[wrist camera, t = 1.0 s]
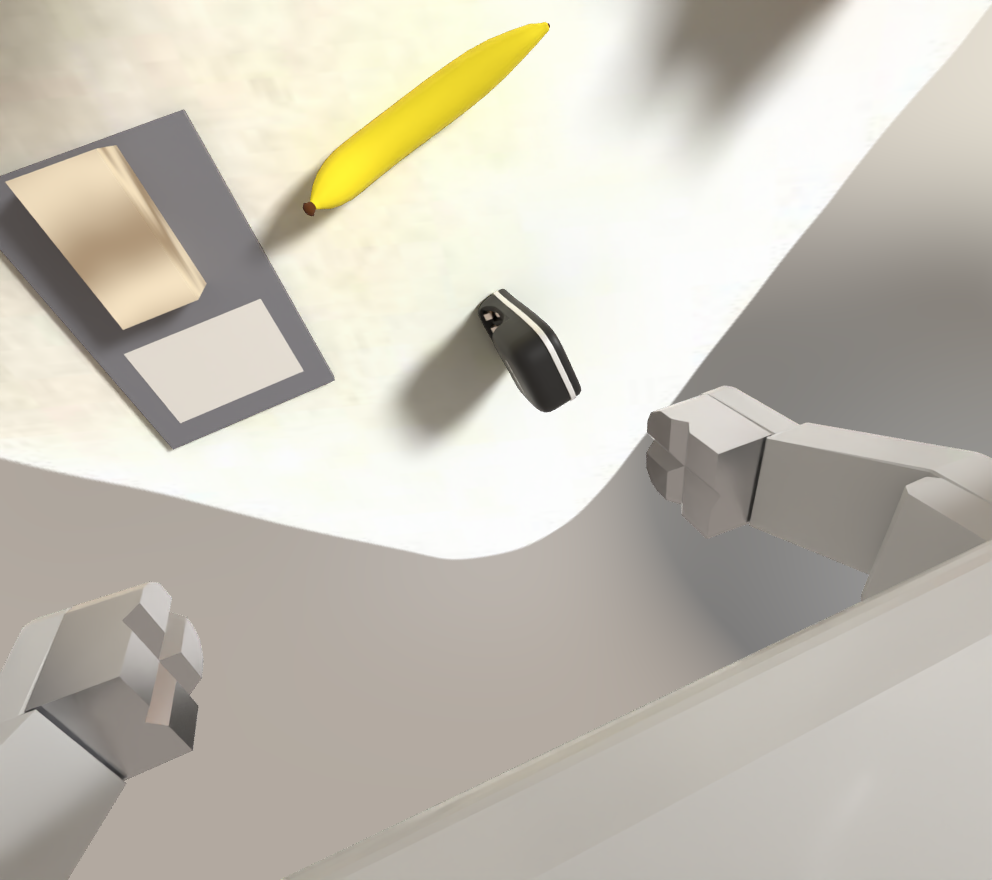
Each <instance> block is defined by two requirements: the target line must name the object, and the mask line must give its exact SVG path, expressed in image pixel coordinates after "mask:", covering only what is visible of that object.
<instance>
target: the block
mask: <svg viewBox="0 0 992 880" xmlns="http://www.w3.org/2000/svg"><path fill="white" fill-rule="evenodd" d="M5 183H6V184H7V185H8V186H9V188H10V189H11V190H12V191H13V193H14V194H15V195H16V196H17V198H18V199H19V200H20V201H21V203H22V204H23V205H24V206H25V208H26V209H27V210H28V211H29V213H30V214H31V215H32V216H33V218H34V219H35V220H36V221H37V223H38V224H39V225H40V226H41V228H42V229H43V230H44V231H45V233H46V234H47V235H48V236H49V238H50V239H51V240H52V241H53V243H54V244H55V245H56V246H57V248H58V249H59V250H60V251H61V253H62V254H63V255H64V256H65V258H66V259H67V260H68V261H69V263H70V264H71V265H72V266H73V268H74V269H75V270H76V271H77V273H78V274H79V275H80V276H81V278H82V279H83V280H84V282H85V283H86V284H87V285H88V287H89V288H90V289H91V290H92V292H93V293H94V294H95V295H96V297H97V298H98V299H99V300H100V302H101V303H102V304H103V305H104V307H105V308H106V309H107V310H108V312H109V313H110V314H111V315H112V317H113V318H114V319H115V320H116V322H117V323H118V324H119V325H120V327H121V328H122V329H123V330H124V329H127V328H129V327H132V326H134V325H137V324H139V323H142V322H144V321H147V320H149V319H152V318H154V317H157V316H159V315H162V314H164V313H167V312H169V311H171V310H174V309H176V308H179V307H181V306H184V305H186V304H189V303H191V302H194V301H196V300H198V299H199V297H200V296H201V294H202V292H203V290H204V288H205V286H206V284H207V283H206V282H205V280H204V279H203V277H202V276H201V274H200V273H199V271H198V270H197V268H196V266H195V265H194V263H193V262H192V260H191V259H190V257H189V256H188V254H187V253H186V251H185V250H184V248H183V247H182V245H181V243H180V242H179V240H178V239H177V237H176V236H175V234H174V233H173V231H172V230H171V228H170V227H169V225H168V224H167V222H166V220H165V219H164V217H163V216H162V214H161V213H160V211H159V210H158V208H157V207H156V205H155V204H154V202H153V201H152V199H151V197H150V196H149V194H148V193H147V191H146V190H145V188H144V187H143V185H142V184H141V182H140V181H139V179H138V178H137V176H136V174H135V173H134V171H133V170H132V168H131V167H130V165H129V164H128V162H127V161H126V159H125V158H124V156H123V155H122V153H121V151H120V150H119V148H118V147H117V145H114V146H108V147H103V148H97V149H94V150H91V151H88V152H85V153H83V154H80V155H77V156H75V157H72V158H69V159H66V160H64V161H61V162H58V163H55V164H53V165H50V166H47V167H44V168H42V169H39V170H36V171H33V172H31V173H28V174H25V175H22V176H20V177H17V178H14V179H12V180H9V181H6V182H5Z"/></svg>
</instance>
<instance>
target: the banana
mask: <svg viewBox="0 0 992 880" xmlns="http://www.w3.org/2000/svg"><path fill="white" fill-rule="evenodd" d="M549 28H550V25H549V24H548V23H546V22H543V23H537V24H528V25H525V26H522V27H519V28H516V29H513V30H511V31H508V32H506V33H503V34H501V35H498V36H496V37H493V38H491V39H488V40H487V41H485V42H483V43H481V44H479V45H477V46H475V47H474V48H472V49H470V50H468V51H467V52H465V53H464V54H462V55H461V56H459V57H458V58H456V59H455V60H453V61H452V62H450V63H449V64H447V65H446V66H444V67H443V68H442V69H440V70H439V71H438V72H436V73H435V74H433V75H432V76H431V77H429V78H428V79H426V80H425V81H424V82H422V83H421V84H420V85H418V86H417V87H416V88H414V89H413V90H412V91H410V92H409V93H408V94H407V95H405V96H404V97H403V98H401V99H400V100H399V101H397V102H396V103H395V104H393V105H392V106H391V107H389V108H388V109H387V110H386V111H384V112H383V113H382V114H380V115H379V116H378V117H376V118H375V119H374V120H372V121H371V122H370V123H369V124H367V125H366V126H365V127H363V128H362V129H361V130H359V131H358V132H357V133H355V134H354V135H353V136H352V137H350V138H349V139H348V140H347V141H345V142H344V143H343V144H342V145H340V146H339V147H338V148H337V149H336V150H334V151H333V153H332V154H331V155H330V156H329V157H328V158H327V159H326V160H325V162H324V163H323V165H322V166H321V168H320V169H319V171H318V173H317V175H316V178H315V180H314V183H313V186H312V191H311V197H310V202H308V203H304V204H303V209H304V211H305V213H306V214H307V215H309V216H314V213H315V210H317V209H331V208H335V207H338V206H341V205H343V204H345V203H346V202H348V201H350V200H352V199H353V198H355V197H356V196H357V195H359V194H360V193H361V192H363V191H364V190H365V189H366V188H367V187H368V186H370V185H371V184H372V183H373V182H374V181H375V180H377V179H378V178H379V177H380V176H382V175H383V174H384V173H385V172H387V171H388V170H389V169H390V168H392V167H393V166H394V165H395V164H397V163H398V162H399V161H401V160H402V159H403V158H405V157H406V156H407V155H409V154H410V153H411V152H413V151H414V150H415V149H417V148H418V147H419V146H421V145H422V144H423V143H425V142H426V141H427V140H429V139H430V138H431V137H433V136H434V135H435V134H437V133H438V132H439V131H441V130H442V129H443V128H445V127H446V126H447V125H449V124H450V123H451V122H453V121H454V120H455V119H457V118H458V117H459V116H460V115H462V114H463V113H464V112H466V111H467V110H468V109H470V108H471V107H472V106H473V105H475V104H476V103H477V102H478V101H479V100H481V99H482V98H483V97H484V96H485V95H487V94H488V93H489V92H490V91H491V90H492V89H493V88H494V87H496V86H497V85H498V84H499V83H500V82H501V81H502V80H503V79H504V78H505V77H506V76H507V75H508V74H509V73H510V72H511V71H512V70H513V69H514V68H515V67H516V66H517V65H518V64H519V63H520V62H521V61H522V60H523V59H524V57H525V56H526V55H527V54H528V53H529V52H530V51H531V50H532V49H533V48H534V47H535V46H536V45H537V43H538V42H539V41H540V40H541V39H542V38H543V36H544V35H545V34H546V33H547V32H548V31H549Z"/></svg>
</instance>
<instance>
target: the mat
mask: <svg viewBox="0 0 992 880" xmlns="http://www.w3.org/2000/svg"><path fill="white" fill-rule="evenodd" d="M114 145H117V147H118V148H119V150H120V151H121V153H122V155H123V156H124V158H125V159H126V161H127V162H128V164H129V165H130V167H131V168H132V170H133V171H134V173H135V174H136V176H137V178H138V179H139V181H140V182H141V184H142V185H143V187H144V188H145V190H146V191H147V193H148V194H149V196H150V197H151V199H152V201H153V202H154V204H155V205H156V207H157V208H158V210H159V211H160V213H161V214H162V216H163V217H164V219H165V220H166V222H167V224H168V225H169V227H170V228H171V230H172V231H173V233H174V234H175V236H176V237H177V239H178V240H179V242H180V243H181V245H182V247H183V248H184V250H185V251H186V253H187V254H188V256H189V257H190V259H191V260H192V262H193V263H194V265H195V266H196V268H197V270H198V271H199V273H200V274H201V276H202V277H203V279H204V280H205V282H206V283H207V284H206V286H205V288H204V290H203V292H202V294H201V296H200V297H199V299H198V300H196V301H194V302H191V303H189V304H186V305H184V306H181V307H179V308H176V309H174V310H171V311H169V312H167V313H164V314H162V315H159V316H157V317H154V318H152V319H149V320H147V321H144V322H142V323H139V324H137V325H134V326H132V327H129V328H127V329H124V330H123V329H122V328H121V327H120V325H119V324H118V323H117V322H116V320H115V319H114V318H113V317H112V315H111V314H110V313H109V312H108V310H107V309H106V308H105V307H104V305H103V304H102V303H101V302H100V300H99V299H98V298H97V297H96V295H95V294H94V293H93V292H92V290H91V289H90V288H89V287H88V285H87V284H86V283H85V282H84V280H83V279H82V278H81V276H80V275H79V274H78V273H77V271H76V270H75V269H74V268H73V266H72V265H71V264H70V263H69V261H68V260H67V259H66V258H65V256H64V255H63V254H62V253H61V251H60V250H59V249H58V248H57V246H56V245H55V244H54V243H53V241H52V240H51V239H50V238H49V236H48V235H47V234H46V233H45V231H44V230H43V229H42V228H41V226H40V225H39V224H38V223H37V221H36V220H35V219H34V218H33V216H32V215H31V214H30V213H29V211H28V210H27V209H26V208H25V206H24V205H23V204H22V203H21V201H20V200H19V199H18V198H17V196H16V195H15V194H14V193H13V191H12V190H11V189H10V188H9V186H8V185H7V184H6V183H5V182H6V181H9V180H12V179H14V178H17V177H20V176H22V175H25V174H28V173H31V172H33V171H36V170H39V169H42V168H44V167H47V166H50V165H53V164H55V163H58V162H61V161H64V160H66V159H69V158H72V157H75V156H77V155H80V154H83V153H85V152H88V151H91V150H94V149H97V148H103V147H108V146H114ZM0 250H1V251H2V252H3V253H4V255H5V256H6V257H7V258H8V259H9V260H10V262H11V263H12V264H13V265H14V266H15V267H16V268H17V270H18V271H19V272H20V273H21V274H22V275H23V277H24V278H25V279H26V280H27V281H28V282H29V283H30V285H31V286H32V287H33V288H34V289H35V290H36V292H37V293H38V294H39V295H40V296H41V297H42V298H43V300H44V301H45V302H46V303H47V304H48V305H49V307H50V308H51V309H52V310H53V311H54V312H55V313H56V315H57V316H58V317H59V318H60V319H61V320H62V322H63V323H64V324H65V325H66V326H67V327H68V328H69V330H70V331H71V332H72V333H73V334H74V335H75V337H76V338H77V339H78V340H79V341H80V342H81V343H82V345H83V346H84V347H85V348H86V349H87V350H88V352H89V353H90V354H91V355H92V356H93V357H94V358H95V360H96V361H97V362H98V363H99V364H100V365H101V367H102V368H103V369H104V370H105V371H106V372H107V373H108V375H109V376H110V377H111V378H112V379H113V380H114V382H115V383H116V384H117V385H118V386H119V387H120V388H121V390H122V391H123V392H124V393H125V394H126V395H127V397H128V398H129V399H130V400H131V401H132V402H133V403H134V405H135V406H136V407H137V408H138V409H139V410H140V412H141V413H142V414H143V415H144V416H145V417H146V418H147V420H148V421H149V422H150V423H151V424H152V425H153V427H154V428H155V429H156V430H157V431H158V432H159V433H160V435H161V436H162V437H163V438H164V439H165V440H166V442H167V443H168V444H169V445H170V446H171V447H172V448H173V449H175V448H178V447H180V446H182V445H185V444H187V443H189V442H192V441H194V440H196V439H199V438H201V437H203V436H206V435H208V434H210V433H213V432H215V431H217V430H220V429H222V428H224V427H227V426H229V425H231V424H234V423H236V422H238V421H241V420H243V419H245V418H248V417H250V416H252V415H255V414H257V413H259V412H262V411H264V410H266V409H269V408H271V407H273V406H276V405H278V404H281V403H283V402H285V401H288V400H290V399H292V398H295V397H297V396H299V395H302V394H304V393H306V392H309V391H311V390H313V389H316V388H318V387H320V386H323V385H325V384H327V383H330V382H332V381H334V380H335V379H334V375H333V374H332V372H331V370H330V368H329V366H328V365H327V363H326V361H325V359H324V358H323V356H322V354H321V352H320V350H319V349H318V347H317V345H316V343H315V341H314V340H313V338H312V336H311V334H310V333H309V331H308V329H307V327H306V325H305V324H304V322H303V320H302V318H301V317H300V315H299V313H298V311H297V309H296V308H295V306H294V304H293V302H292V300H291V299H290V297H289V295H288V293H287V292H286V290H285V288H284V286H283V284H282V283H281V281H280V279H279V277H278V276H277V274H276V272H275V270H274V268H273V267H272V265H271V263H270V261H269V259H268V258H267V256H266V254H265V252H264V251H263V249H262V247H261V245H260V243H259V242H258V240H257V238H256V236H255V235H254V233H253V231H252V229H251V227H250V226H249V224H248V222H247V220H246V218H245V217H244V215H243V213H242V211H241V210H240V208H239V206H238V204H237V202H236V201H235V199H234V197H233V195H232V194H231V192H230V190H229V188H228V186H227V185H226V183H225V181H224V179H223V177H222V176H221V174H220V172H219V170H218V169H217V167H216V165H215V163H214V161H213V160H212V158H211V156H210V154H209V153H208V151H207V149H206V147H205V145H204V144H203V142H202V140H201V138H200V136H199V135H198V133H197V131H196V129H195V128H194V126H193V124H192V122H191V120H190V119H189V117H188V115H187V113H186V112H185V110H181V111H178V112H175V113H172V114H170V115H167V116H164V117H161V118H159V119H156V120H153V121H150V122H148V123H145V124H142V125H139V126H137V127H134V128H131V129H128V130H126V131H123V132H120V133H117V134H115V135H112V136H109V137H106V138H104V139H101V140H98V141H95V142H93V143H90V144H87V145H84V146H82V147H79V148H76V149H73V150H71V151H68V152H65V153H62V154H60V155H57V156H54V157H51V158H49V159H46V160H43V161H40V162H38V163H35V164H32V165H29V166H27V167H24V168H21V169H18V170H16V171H13V172H10V173H7V174H5V175H2V176H0Z"/></svg>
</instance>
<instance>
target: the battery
mask: <svg viewBox="0 0 992 880" xmlns="http://www.w3.org/2000/svg"><path fill="white" fill-rule="evenodd" d="M478 313H479V317H480V319H481V321H482V323H483V325H484V327H485V328H486V330H487V332H488V334H489V335H490V337H491V339H492V341H493V343H494V346H495V348H496V350H497V352H498V353H499V355H500V357H501V359H502V361H503V362H504V364H505V366H506V367H507V369H508V371H509V373H510V375H511V377H512V379H513V380H514V382H515V384H516V386H517V387H518V389H519V390H520V392H521V393H522V394H523V395H524V396H525V397H526V398H527V399H528V400H529V402H530V403H531V404H532V405H533V406H534V407H536V408H537V409H538V410H540V411H542V412H551V411H553V410H555V409H557V408H558V407H560V406H562V405H563V404H565V403H566V402H568V401H569V400H570V401H572V400H573V399H575V398H576V396H577V395H579V394H580V392H581V387H580V384H579V382H578V379H577V377H576V375H575V373H574V370H573V368H572V366H571V364H570V362H569V360H568V357H567V355H566V353H565V351H564V349H563V347H562V345H561V343H560V341H559V339H558V337H557V336H556V334H555V333H554V331H553V330H552V329H551V328H550V326H549V325H548V324H547V323H545V322H544V321H543V320H542V319H541V318H540V317H539V316H537V315H536V314H535V313H534V312H532V311H531V310H530V309H529V308H527V307H526V306H525V305H523V304H522V303H521V302H519V301H518V300H517V299H516V298H514V297H513V296H512V295H511V294H510V293H508V292H507V291H506V290H505V289H501V290H499V291H496V292H494V293H493V295H491V296H490V297H488V298H487V299H486V300H485V301H484V302H483V303H482V304H481V305H480V307H479V310H478Z"/></svg>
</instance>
